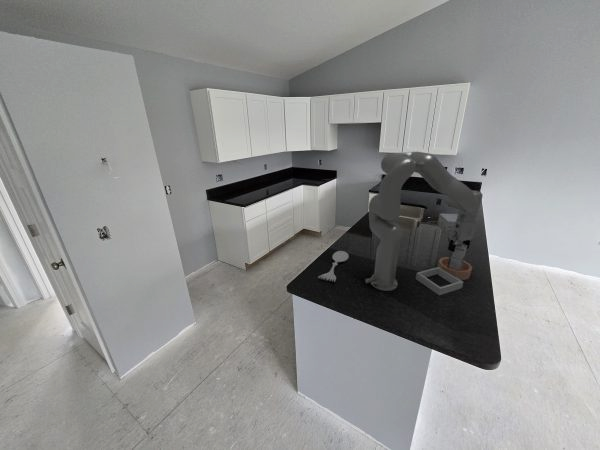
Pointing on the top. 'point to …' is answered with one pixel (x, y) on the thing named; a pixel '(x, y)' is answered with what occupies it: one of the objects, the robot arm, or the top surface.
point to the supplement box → (447, 222)
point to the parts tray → (445, 289)
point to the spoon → (337, 257)
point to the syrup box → (457, 257)
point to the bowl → (461, 274)
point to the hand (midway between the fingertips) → (458, 249)
